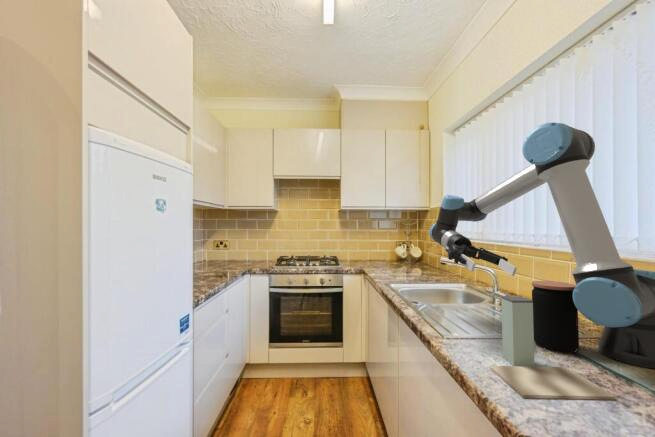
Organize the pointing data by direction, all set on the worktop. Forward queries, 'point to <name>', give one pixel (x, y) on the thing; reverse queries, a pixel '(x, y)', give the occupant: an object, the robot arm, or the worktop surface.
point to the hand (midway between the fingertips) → (494, 269)
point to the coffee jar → (555, 316)
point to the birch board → (550, 383)
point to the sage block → (517, 330)
